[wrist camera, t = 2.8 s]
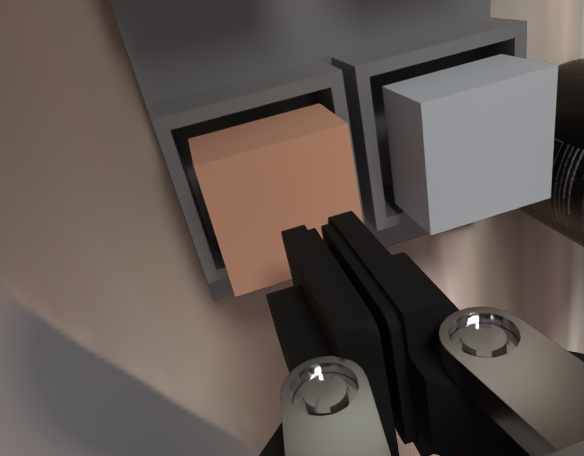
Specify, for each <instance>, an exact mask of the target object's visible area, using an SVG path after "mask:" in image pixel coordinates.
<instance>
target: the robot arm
mask: <svg viewBox="0 0 584 456" xmlns="http://www.w3.org/2000/svg"><path fill="white" fill-rule="evenodd" d="M321 231H322V236H323V239H322V237H321V236H320V234H319V233H318V231H317V230H316V228H312V229H309V230H308V229H307V228H306V226H305V225H301V226H297V227H294V228H291V229H287V230H284V231H281V235H282V239H283V244H284V248H285V252H286V256H287V260H288V264H289V268H290V272H291V276H292V280H293V284H294V286H292V287H289V288H286V289H282V290H279V291H276V292H273V293H270V294H266V296H267V300H268V304H269V308H270V311H271V315H272V318H273V322H274V325H275V329H276V332H277V335H278V339H279V342H280V345H281V348H282V352H283V355H284V358H285V361H286V364H287V367H288V370H289V373H290V374H289V375H288V376H287V377H286V379H285V381H284V383H283V385H282V387H281V395H280V400H281V412H282V423H281V424H280V426H279V427H278V429H277V430H276V432H275V433H274V435H273V436H272V438H271V439H270V440H269V442H268V443H267V445H266V446H265V448H264V449H263V451H262V452H261V454H260V455H259V456H399V451H398V444H397V438H396V431H395V428H396V430H397V432H398V434H399V436H400V438H401V440H402V441H403V443H404V444H408V443H411V442H413V443H414V444H415V446H416V448H417V450H418V452H419V453H420V455H421V456H430V455H432V454H437V455H440V456H584V354H582V353H577V352H571V351H567V350H565V349H564V348H562V347H561V346H559V345H558V344H556V343H555V342H553V341H552V340H551V339H549V338H548V337H546V336H545V335H543V334H542V333H540V332H539V331H537V330H536V329H534V328H533V327H531V326H530V325H529V324H527V323H526V322H524V321H523V320H521V319H520V318H518V317H517V316H515V315H513V314H511V313H509V312H507V311H503V310H500V309H496V308H490V307H473V308H466V309H463V310H459V309H458V308H457V307H456V306H455V305H454V304H453V303H452V302H451V301H450V300H449V299H448V298H447V296H446V295H445V294H444V293H443V292H442V291H441V290H440V289H439V288H438V287H437V286H436V285H435V284H434V283H433V282H432V281H431V280H430V279H429V277H428V276H427V275H426V274H425V273H424V272H423V271H422V270H421V269H420V268H419V267H418V266H417V265H416V264H415V263H414V262H413V261H412V260H411V258H410V257H409V256H408V255H406V254H405V253H398V254H395V255H391V254H390V253H389V252H388V251H387V250H386V248H385V247H384V246H383V245H382V244H381V243H380V242H379V240H378V239H377V238H376V237H375V236H374V235H373V234H372V233H371V231H370V230H369V229H368V228H367V227H366V226H365V225H364V224H363V222H362V221H361V220H360V219H359V218H358V217H357V216H356V215H355V213H354V212H353V211H348V212H344V213H341V214H338V215H334V216H331V217H328V224H326V225H322V226H321Z"/></svg>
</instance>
